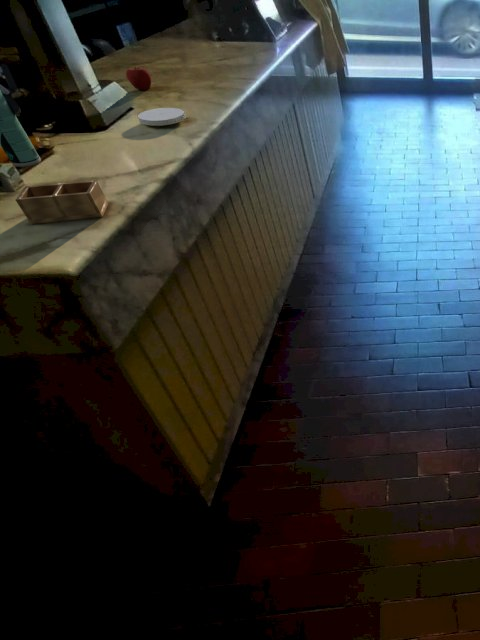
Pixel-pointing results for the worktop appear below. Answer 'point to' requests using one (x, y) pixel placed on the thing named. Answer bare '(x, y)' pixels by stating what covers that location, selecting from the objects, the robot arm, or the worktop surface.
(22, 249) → the worktop surface
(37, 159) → the spray can
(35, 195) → the box
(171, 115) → the plastic lid
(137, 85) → the apple
